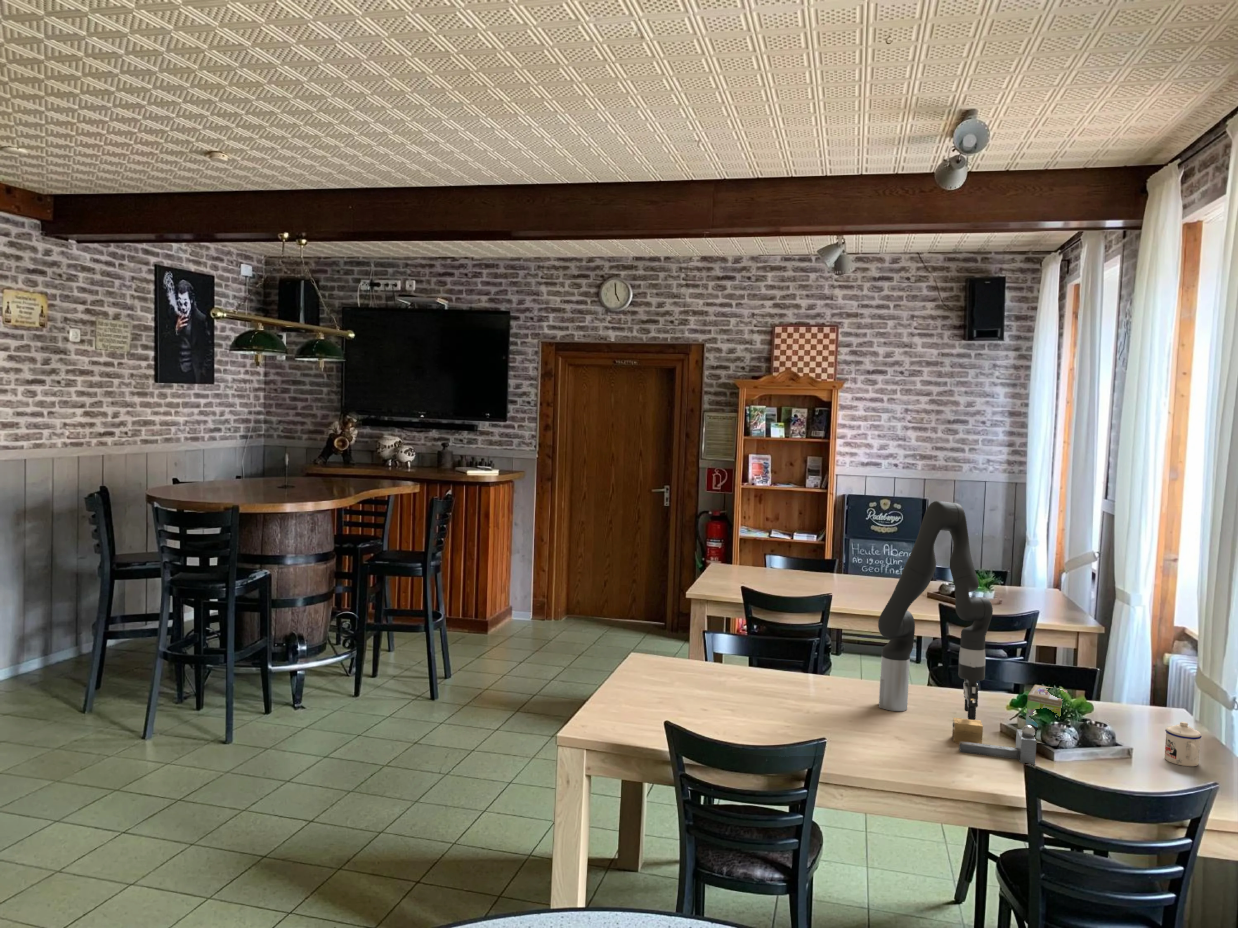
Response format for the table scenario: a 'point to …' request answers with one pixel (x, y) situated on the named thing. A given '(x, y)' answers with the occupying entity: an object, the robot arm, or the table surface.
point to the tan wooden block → (967, 730)
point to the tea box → (1041, 703)
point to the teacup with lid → (1182, 745)
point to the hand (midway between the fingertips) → (969, 715)
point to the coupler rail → (1022, 751)
